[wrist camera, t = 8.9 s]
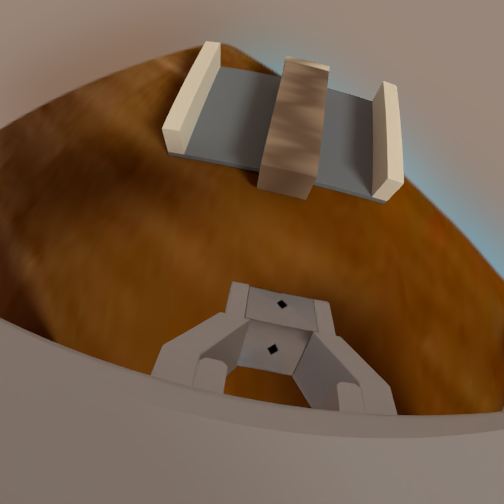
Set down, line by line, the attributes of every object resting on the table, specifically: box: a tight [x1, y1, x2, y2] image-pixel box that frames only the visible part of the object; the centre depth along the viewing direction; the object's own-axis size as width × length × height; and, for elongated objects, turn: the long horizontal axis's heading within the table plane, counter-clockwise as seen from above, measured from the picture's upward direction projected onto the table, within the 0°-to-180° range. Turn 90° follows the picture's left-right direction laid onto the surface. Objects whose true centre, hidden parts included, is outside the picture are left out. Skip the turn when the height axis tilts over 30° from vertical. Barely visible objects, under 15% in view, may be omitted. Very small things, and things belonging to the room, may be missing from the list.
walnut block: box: [257, 56, 330, 200], centre depth 28 cm, size 4×4×14 cm
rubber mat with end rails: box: [162, 42, 404, 204], centre depth 29 cm, size 21×13×4 cm, turn 78°
